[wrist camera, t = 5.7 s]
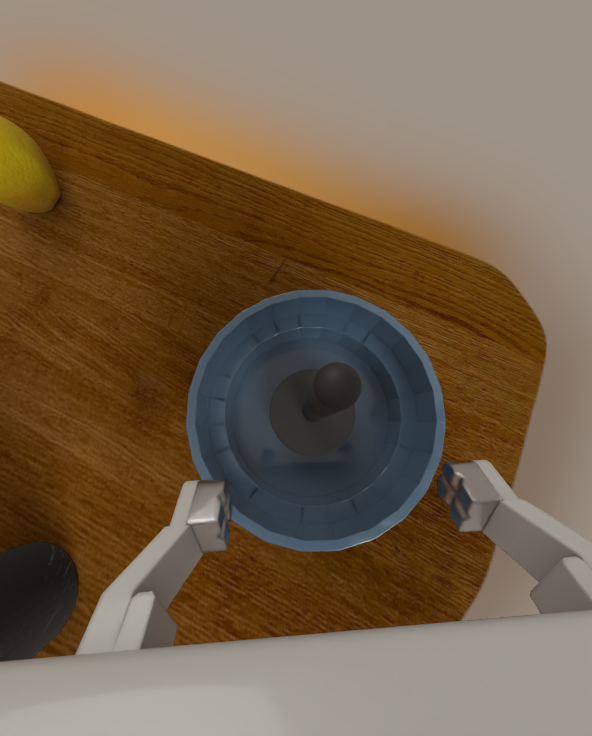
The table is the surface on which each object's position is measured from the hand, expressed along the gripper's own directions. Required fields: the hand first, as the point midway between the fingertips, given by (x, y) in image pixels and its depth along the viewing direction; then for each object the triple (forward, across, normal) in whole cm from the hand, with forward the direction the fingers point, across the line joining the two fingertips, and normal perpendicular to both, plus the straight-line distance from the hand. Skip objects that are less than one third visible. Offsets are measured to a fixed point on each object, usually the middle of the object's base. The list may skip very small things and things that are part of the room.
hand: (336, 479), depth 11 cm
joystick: (+11, 0, +6) cm, 13 cm away
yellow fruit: (+28, +25, -9) cm, 39 cm away
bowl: (+12, 0, +7) cm, 13 cm away
